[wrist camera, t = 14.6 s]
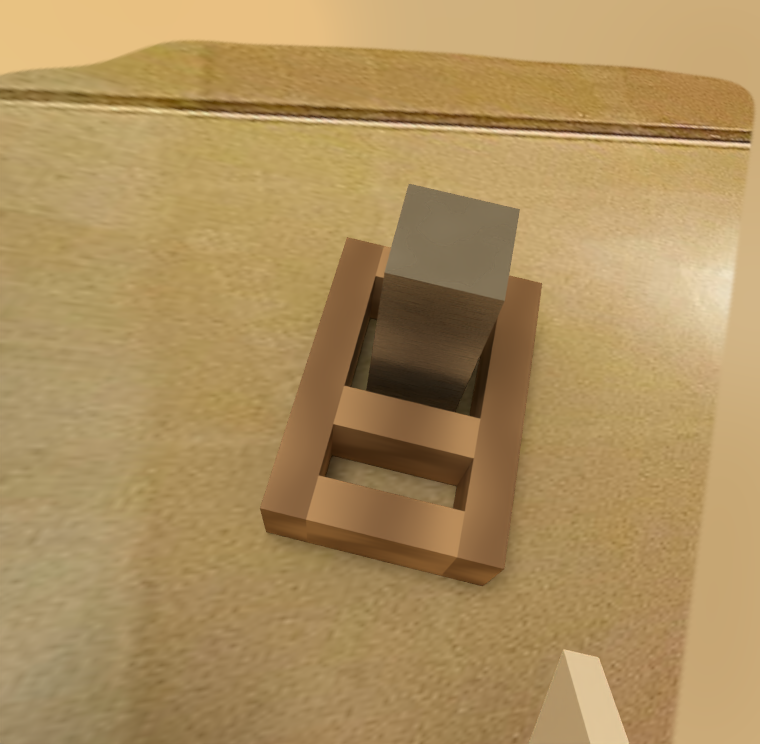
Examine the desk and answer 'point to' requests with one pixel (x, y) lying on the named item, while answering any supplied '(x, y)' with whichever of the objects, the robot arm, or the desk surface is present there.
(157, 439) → the desk surface
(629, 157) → the desk surface
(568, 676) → the robot arm
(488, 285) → the grey tall rectangular block
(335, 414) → the wooden slotted frame
